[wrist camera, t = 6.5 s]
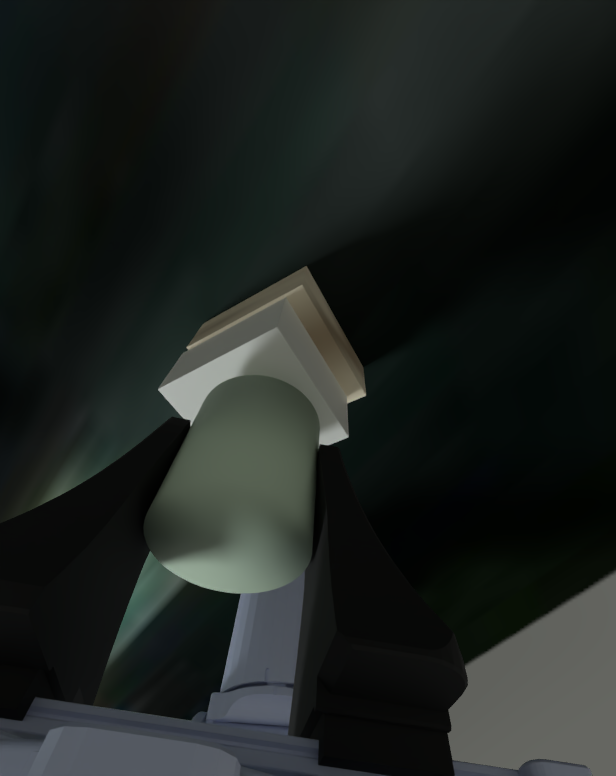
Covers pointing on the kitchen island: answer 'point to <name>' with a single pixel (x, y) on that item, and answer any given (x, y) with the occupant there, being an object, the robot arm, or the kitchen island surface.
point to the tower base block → (313, 318)
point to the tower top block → (261, 367)
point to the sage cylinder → (240, 490)
